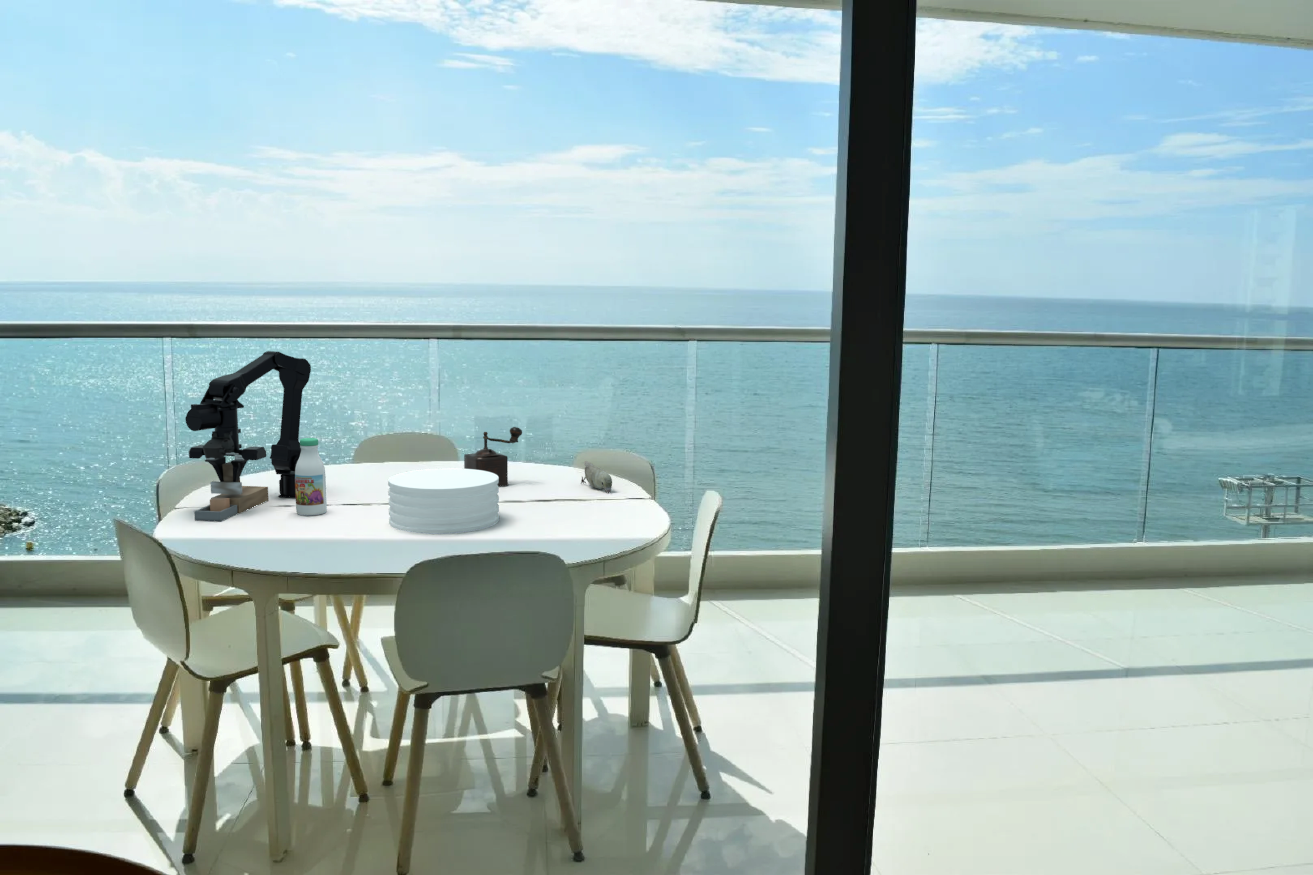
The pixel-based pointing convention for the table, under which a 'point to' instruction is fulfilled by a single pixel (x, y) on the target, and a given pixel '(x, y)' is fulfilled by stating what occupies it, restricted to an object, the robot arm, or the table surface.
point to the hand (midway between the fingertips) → (229, 484)
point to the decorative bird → (597, 477)
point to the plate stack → (443, 500)
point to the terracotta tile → (219, 504)
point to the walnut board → (247, 497)
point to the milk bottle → (310, 480)
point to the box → (215, 514)
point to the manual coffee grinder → (492, 458)
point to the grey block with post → (227, 482)
